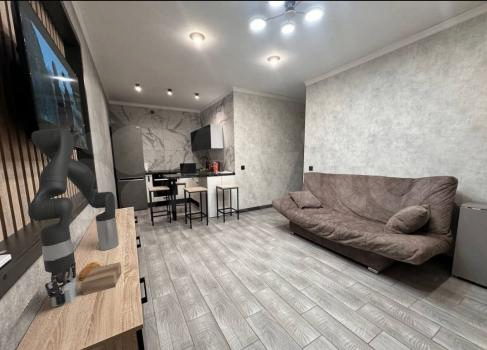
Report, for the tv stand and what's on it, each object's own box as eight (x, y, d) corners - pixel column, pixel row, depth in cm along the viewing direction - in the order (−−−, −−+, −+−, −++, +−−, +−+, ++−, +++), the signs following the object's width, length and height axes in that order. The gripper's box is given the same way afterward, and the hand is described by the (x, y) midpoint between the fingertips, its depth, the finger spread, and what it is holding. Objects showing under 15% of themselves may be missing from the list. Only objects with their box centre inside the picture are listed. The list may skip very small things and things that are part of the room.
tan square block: (94, 279, 76) (92, 268, 75) (121, 272, 79) (120, 262, 79) (83, 295, 66) (81, 282, 66) (115, 286, 70) (113, 274, 70)
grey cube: (61, 297, 66) (59, 285, 66) (78, 293, 68) (76, 280, 68) (52, 307, 61) (50, 294, 61) (71, 302, 63) (69, 289, 63)
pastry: (94, 279, 76) (93, 270, 76) (74, 284, 74) (73, 275, 74) (102, 267, 85) (101, 259, 85) (84, 271, 83) (83, 263, 82)
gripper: (57, 247, 68) (63, 289, 70) (29, 267, 55) (38, 318, 57) (81, 243, 71) (87, 283, 73) (61, 261, 58) (68, 309, 59)
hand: (65, 298), depth 65 cm, fingers closed on grey cube, 5 cm apart
